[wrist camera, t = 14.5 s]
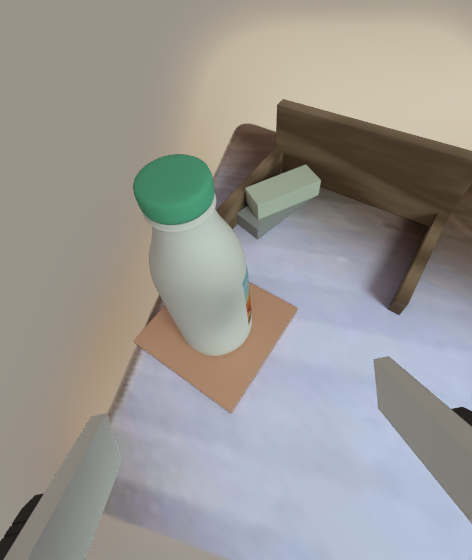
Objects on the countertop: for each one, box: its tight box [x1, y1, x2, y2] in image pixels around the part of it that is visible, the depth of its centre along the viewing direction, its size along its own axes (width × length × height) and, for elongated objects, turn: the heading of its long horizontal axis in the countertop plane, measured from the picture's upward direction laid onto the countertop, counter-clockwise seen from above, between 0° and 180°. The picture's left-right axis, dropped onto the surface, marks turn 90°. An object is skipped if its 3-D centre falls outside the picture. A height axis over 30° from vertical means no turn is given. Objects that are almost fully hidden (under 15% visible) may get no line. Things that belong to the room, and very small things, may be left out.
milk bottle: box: [133, 154, 252, 356], centre depth 26 cm, size 8×8×20 cm
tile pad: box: [134, 282, 298, 413], centre depth 35 cm, size 13×13×1 cm
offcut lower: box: [236, 198, 311, 239], centre depth 44 cm, size 11×4×2 cm, turn 132°
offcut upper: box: [245, 165, 321, 220], centre depth 41 cm, size 9×4×2 cm, turn 115°
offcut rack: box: [216, 99, 472, 315], centre depth 37 cm, size 18×24×10 cm
